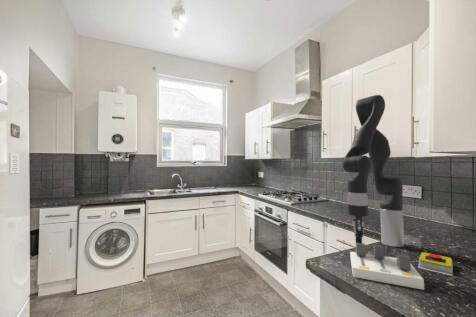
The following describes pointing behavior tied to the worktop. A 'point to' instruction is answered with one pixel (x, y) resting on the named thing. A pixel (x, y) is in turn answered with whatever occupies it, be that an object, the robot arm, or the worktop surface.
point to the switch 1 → (360, 249)
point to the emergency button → (436, 263)
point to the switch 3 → (403, 261)
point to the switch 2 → (378, 251)
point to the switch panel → (384, 271)
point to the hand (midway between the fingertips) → (358, 246)
